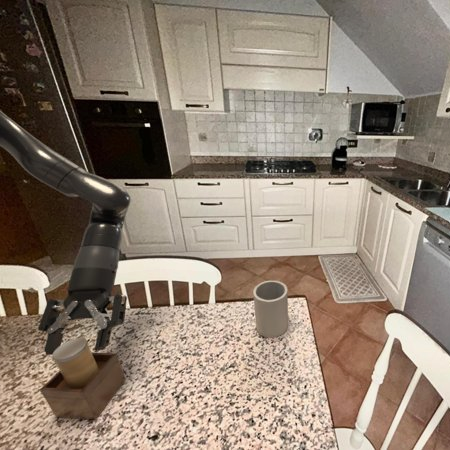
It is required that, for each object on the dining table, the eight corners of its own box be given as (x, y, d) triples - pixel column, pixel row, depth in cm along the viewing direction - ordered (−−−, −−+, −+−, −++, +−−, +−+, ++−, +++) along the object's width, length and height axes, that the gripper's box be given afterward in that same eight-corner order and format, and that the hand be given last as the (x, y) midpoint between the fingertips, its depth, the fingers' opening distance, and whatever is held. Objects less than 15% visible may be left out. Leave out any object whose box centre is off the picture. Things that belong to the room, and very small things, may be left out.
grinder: (60, 388, 47) (44, 358, 44) (83, 365, 51) (69, 337, 48) (85, 390, 46) (70, 360, 43) (105, 366, 51) (93, 338, 48)
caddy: (55, 417, 48) (39, 389, 45) (91, 377, 55) (79, 351, 52) (95, 419, 47) (82, 392, 44) (126, 379, 55) (116, 353, 52)
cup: (250, 322, 71) (247, 288, 66) (276, 309, 76) (275, 276, 71) (267, 343, 64) (264, 306, 59) (294, 326, 69) (294, 292, 65)
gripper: (44, 268, 49) (15, 358, 43) (120, 263, 51) (103, 350, 45) (73, 275, 56) (51, 354, 50) (139, 271, 58) (126, 347, 51)
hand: (76, 352), depth 47 cm, fingers open, 8 cm apart
